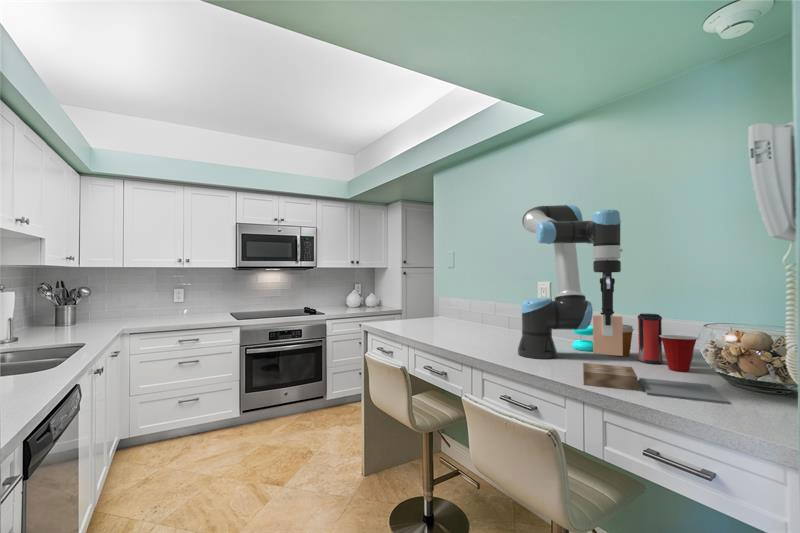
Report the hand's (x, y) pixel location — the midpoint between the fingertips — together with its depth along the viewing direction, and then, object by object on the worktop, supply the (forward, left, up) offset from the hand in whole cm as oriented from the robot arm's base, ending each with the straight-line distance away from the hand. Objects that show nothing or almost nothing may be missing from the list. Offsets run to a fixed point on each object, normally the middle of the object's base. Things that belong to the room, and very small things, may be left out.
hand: (607, 335), depth 118 cm
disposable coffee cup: (+7, +44, -15) cm, 47 cm away
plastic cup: (+23, +26, -15) cm, 38 cm away
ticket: (0, 0, -6) cm, 6 cm away
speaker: (+16, +35, -15) cm, 41 cm away
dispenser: (0, 0, -15) cm, 15 cm away
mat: (+18, -1, -15) cm, 23 cm away
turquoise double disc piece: (-6, +51, -15) cm, 53 cm away
